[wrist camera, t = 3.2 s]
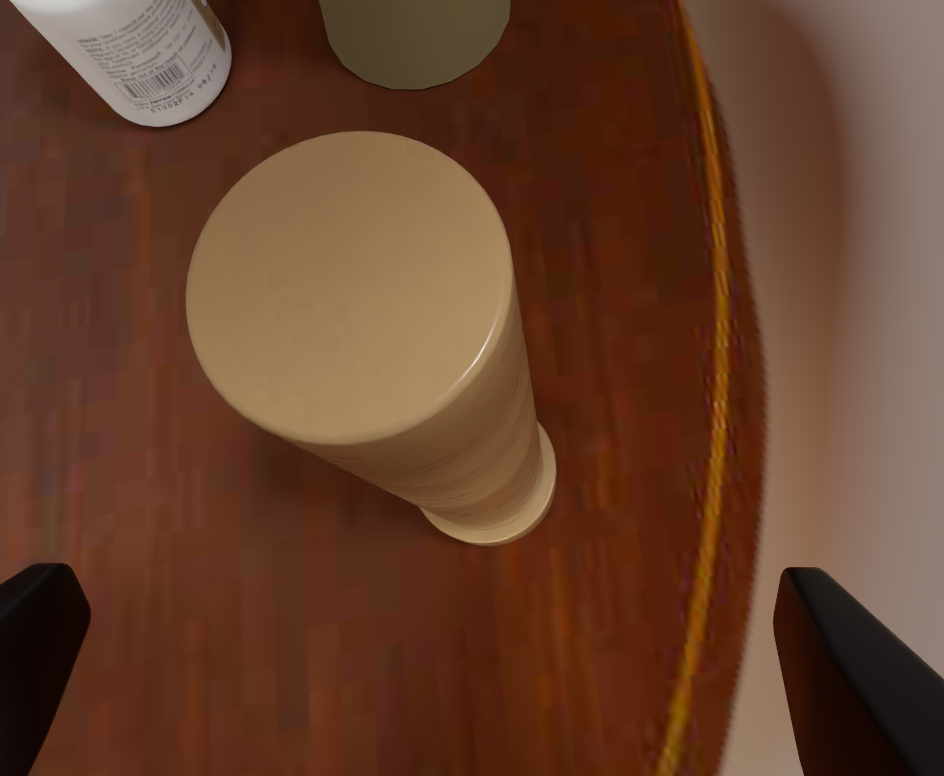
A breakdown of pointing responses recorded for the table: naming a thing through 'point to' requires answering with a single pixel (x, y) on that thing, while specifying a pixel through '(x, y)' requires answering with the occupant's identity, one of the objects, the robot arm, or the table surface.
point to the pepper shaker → (413, 38)
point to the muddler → (377, 327)
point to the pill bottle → (140, 52)
